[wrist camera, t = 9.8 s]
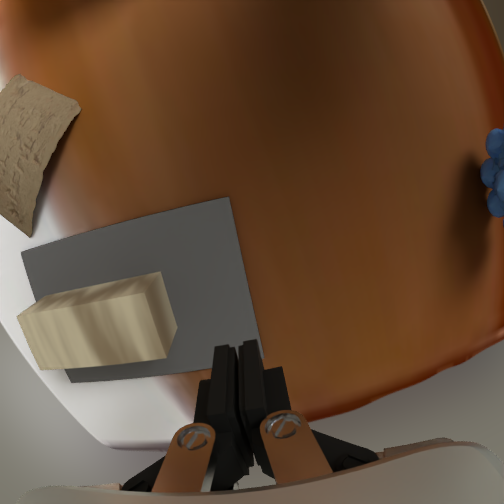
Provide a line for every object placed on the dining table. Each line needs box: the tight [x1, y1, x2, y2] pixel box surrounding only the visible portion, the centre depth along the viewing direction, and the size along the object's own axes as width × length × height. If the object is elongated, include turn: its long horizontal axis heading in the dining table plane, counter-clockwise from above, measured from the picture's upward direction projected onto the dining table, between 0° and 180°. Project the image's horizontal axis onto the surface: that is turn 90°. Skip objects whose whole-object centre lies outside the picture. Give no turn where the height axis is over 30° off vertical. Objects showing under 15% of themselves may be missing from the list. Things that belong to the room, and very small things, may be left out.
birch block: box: [17, 271, 178, 370], centre depth 23 cm, size 5×5×12 cm
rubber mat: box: [21, 197, 264, 383], centre depth 25 cm, size 20×14×1 cm
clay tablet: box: [0, 74, 81, 238], centre depth 21 cm, size 14×10×3 cm
